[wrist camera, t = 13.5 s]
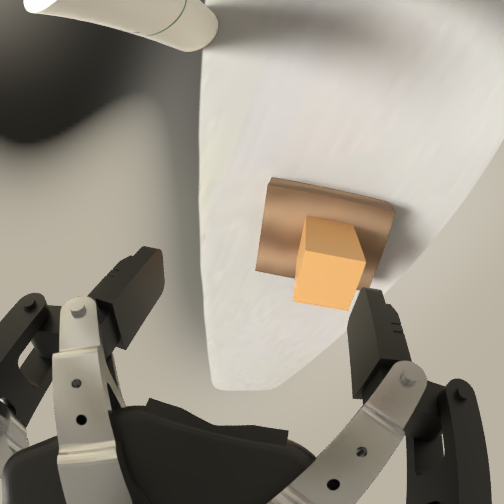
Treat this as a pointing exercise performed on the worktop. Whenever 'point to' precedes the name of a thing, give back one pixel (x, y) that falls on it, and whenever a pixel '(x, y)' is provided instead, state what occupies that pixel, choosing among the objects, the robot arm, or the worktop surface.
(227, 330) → the worktop surface
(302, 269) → the peach foam cube
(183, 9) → the cylindrical container
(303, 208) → the brown slab
